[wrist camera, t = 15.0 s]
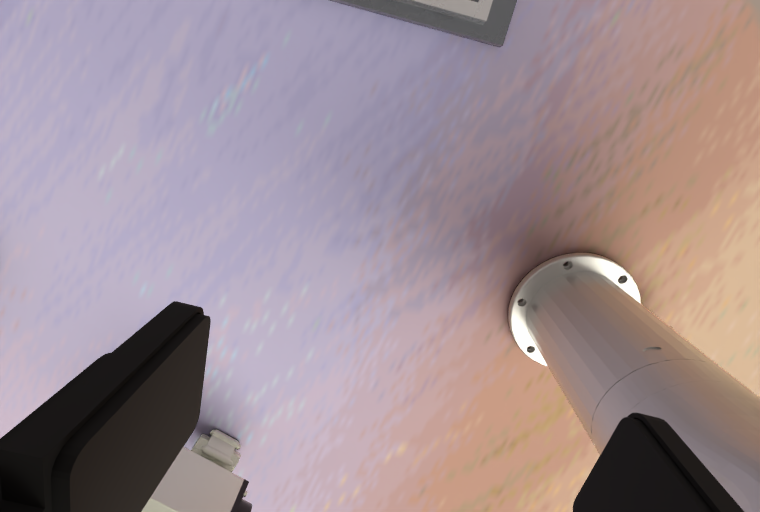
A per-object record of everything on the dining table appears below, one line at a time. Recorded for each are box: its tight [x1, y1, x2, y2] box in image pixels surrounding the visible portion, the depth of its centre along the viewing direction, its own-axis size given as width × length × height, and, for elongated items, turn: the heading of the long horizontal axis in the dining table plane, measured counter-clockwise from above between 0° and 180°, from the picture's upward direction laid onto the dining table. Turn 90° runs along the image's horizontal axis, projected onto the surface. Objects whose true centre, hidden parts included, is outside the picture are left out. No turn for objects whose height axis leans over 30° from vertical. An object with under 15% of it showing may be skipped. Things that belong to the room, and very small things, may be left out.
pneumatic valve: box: [141, 429, 252, 512], centre depth 43 cm, size 6×12×12 cm, turn 55°
